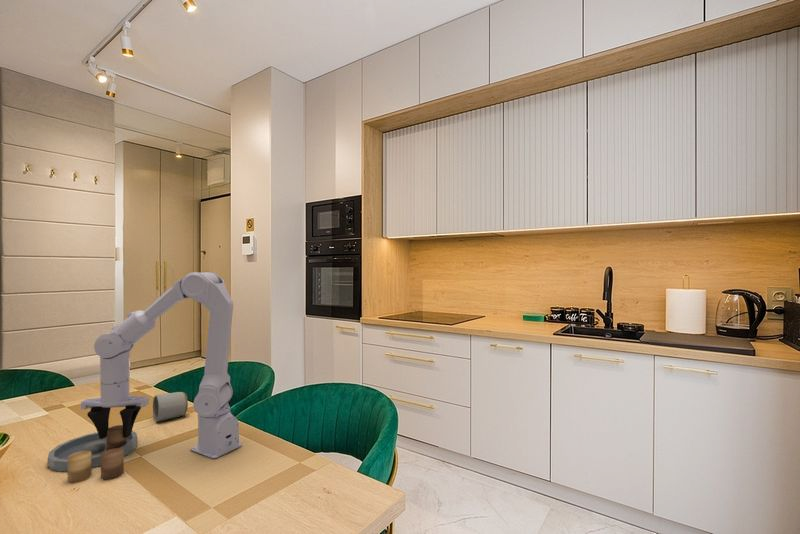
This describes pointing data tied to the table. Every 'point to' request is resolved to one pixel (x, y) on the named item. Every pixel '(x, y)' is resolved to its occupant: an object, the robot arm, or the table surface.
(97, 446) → the tray
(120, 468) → the bead
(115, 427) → the bead
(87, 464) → the bead
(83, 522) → the table surface
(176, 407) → the ceramic mug
